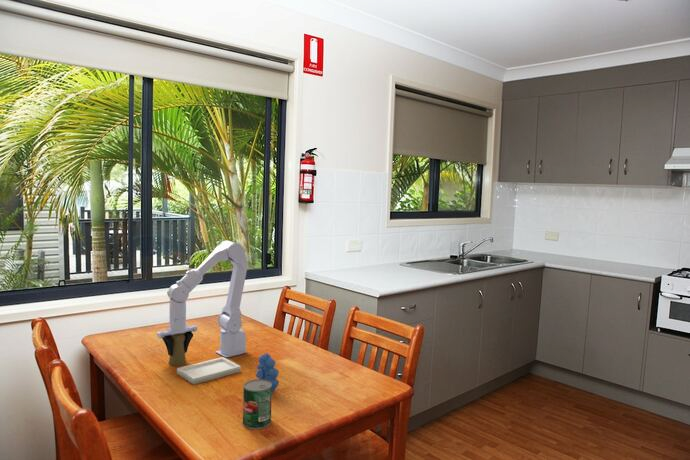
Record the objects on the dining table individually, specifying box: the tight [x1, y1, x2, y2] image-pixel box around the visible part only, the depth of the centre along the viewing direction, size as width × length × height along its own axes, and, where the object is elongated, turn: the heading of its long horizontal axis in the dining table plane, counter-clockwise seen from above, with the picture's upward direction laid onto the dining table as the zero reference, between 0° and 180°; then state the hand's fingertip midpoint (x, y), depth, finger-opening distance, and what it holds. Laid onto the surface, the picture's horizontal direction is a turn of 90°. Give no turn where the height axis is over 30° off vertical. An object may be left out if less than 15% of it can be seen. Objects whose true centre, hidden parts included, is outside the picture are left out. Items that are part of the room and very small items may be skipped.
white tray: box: [176, 356, 242, 386], centre depth 172 cm, size 18×12×2 cm, turn 134°
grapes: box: [255, 352, 280, 394], centre depth 159 cm, size 12×7×12 cm, turn 36°
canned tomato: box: [242, 378, 273, 430], centre depth 137 cm, size 8×8×11 cm
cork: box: [168, 333, 187, 366], centre depth 181 cm, size 6×6×11 cm
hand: (177, 353), depth 181 cm, fingers closed on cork, 5 cm apart
